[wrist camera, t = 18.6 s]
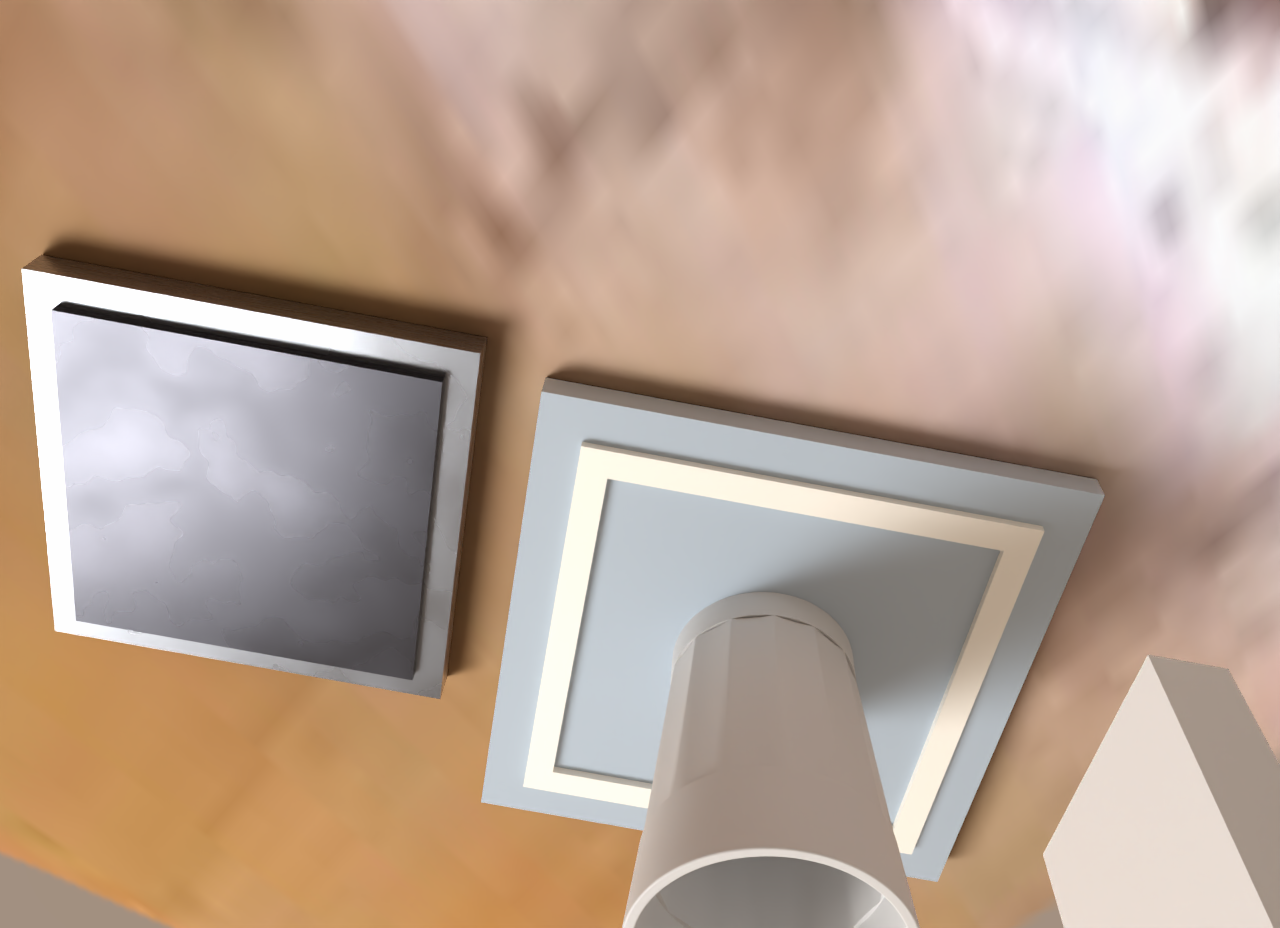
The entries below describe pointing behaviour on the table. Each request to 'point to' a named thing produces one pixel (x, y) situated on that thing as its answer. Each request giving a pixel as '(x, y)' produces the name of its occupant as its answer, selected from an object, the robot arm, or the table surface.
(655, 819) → the cup
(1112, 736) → the robot arm
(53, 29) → the table surface
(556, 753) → the board
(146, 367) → the ink pad
